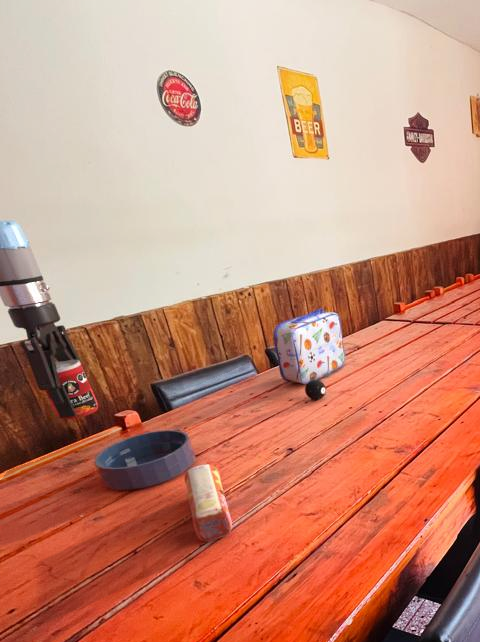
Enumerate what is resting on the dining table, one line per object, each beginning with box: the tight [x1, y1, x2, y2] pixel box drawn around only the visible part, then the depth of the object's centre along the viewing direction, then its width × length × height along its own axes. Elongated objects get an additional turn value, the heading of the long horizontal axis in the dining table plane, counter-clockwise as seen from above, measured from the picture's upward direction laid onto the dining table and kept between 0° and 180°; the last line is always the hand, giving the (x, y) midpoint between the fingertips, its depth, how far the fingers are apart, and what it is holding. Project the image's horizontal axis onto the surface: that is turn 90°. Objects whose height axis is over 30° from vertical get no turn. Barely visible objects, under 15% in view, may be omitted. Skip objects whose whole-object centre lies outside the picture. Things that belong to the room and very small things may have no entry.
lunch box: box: [272, 308, 346, 385], centre depth 174 cm, size 28×10×22 cm, turn 159°
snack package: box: [184, 463, 233, 543], centre depth 102 cm, size 21×7×7 cm, turn 31°
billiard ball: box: [304, 379, 327, 400], centre depth 157 cm, size 6×6×6 cm
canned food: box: [44, 360, 99, 420], centre depth 110 cm, size 8×8×11 cm
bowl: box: [94, 429, 197, 491], centre depth 121 cm, size 19×19×6 cm
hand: (77, 408), depth 112 cm, fingers closed on canned food, 8 cm apart
